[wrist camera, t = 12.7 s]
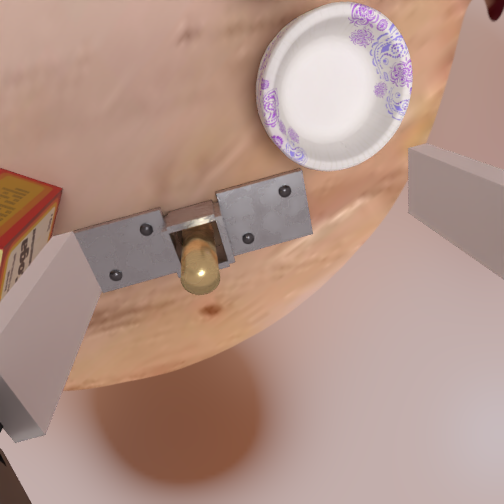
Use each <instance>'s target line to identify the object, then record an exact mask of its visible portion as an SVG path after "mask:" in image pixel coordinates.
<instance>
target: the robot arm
mask: <svg viewBox="0 0 504 504" xmlns="http://www.w3.org/2000/svg"><path fill="white" fill-rule="evenodd" d="M408 186H409V187H408V188H409V189H408V204H409V205H408V206H409V208H408V211H409V212H408V213H409V214H411V215H412V216H414V217H415V218H416V219H418V220H419V221H421V222H422V223H423V224H425V225H426V226H428V227H429V228H431V229H432V230H434V231H435V232H436V233H438V234H439V235H441V236H442V237H444V238H445V239H446V240H448V241H449V242H451V243H452V244H454V245H455V246H456V247H458V248H459V249H461V250H462V251H464V252H465V253H466V254H468V255H469V256H471V257H472V258H474V259H475V260H476V261H478V262H479V263H481V264H482V265H484V266H485V267H486V268H488V269H489V270H491V271H492V272H494V273H495V274H497V275H498V276H499V277H501V278H502V279H504V170H503V169H500V168H497V167H494V166H491V165H488V164H485V163H482V162H480V161H477V160H474V159H471V158H468V157H465V156H462V155H460V154H457V153H454V152H451V151H448V150H445V149H442V148H439V147H437V146H434V145H431V144H423V145H419V146H415V147H411V148H408ZM101 292H102V290H101V288H100V286H99V284H98V282H97V280H96V278H95V276H94V274H93V271H92V269H91V267H90V265H89V263H88V261H87V259H86V257H85V255H84V253H83V251H82V249H81V247H80V245H79V243H78V241H77V239H76V237H75V235H74V233H73V231H72V232H68V233H64V234H60V235H56V236H52V238H51V239H50V240H49V241H48V243H47V244H46V245H45V246H44V248H43V249H42V250H41V251H40V253H39V254H38V255H37V256H36V258H35V259H34V260H33V261H32V263H31V264H30V265H29V267H28V268H27V269H26V270H25V272H24V273H23V274H22V275H21V277H20V278H19V279H18V280H17V282H16V283H15V284H14V285H13V287H12V288H11V289H10V290H9V292H8V293H7V294H6V295H5V297H4V298H3V299H2V300H1V302H0V432H1V430H2V428H3V429H4V430H5V431H6V432H7V434H8V435H9V436H10V437H11V438H12V440H13V441H14V442H15V443H17V442H21V441H24V440H28V439H32V438H36V437H39V436H43V435H46V432H47V429H48V427H49V424H50V422H51V419H52V417H53V414H54V411H55V409H56V407H57V404H58V401H59V399H60V396H61V394H62V391H63V389H64V386H65V384H66V381H67V379H68V376H69V373H70V371H71V368H72V366H73V363H74V361H75V358H76V356H77V353H78V350H79V348H80V345H81V343H82V340H83V338H84V335H85V333H86V330H87V328H88V325H89V322H90V320H91V317H92V315H93V312H94V310H95V307H96V305H97V302H98V300H99V297H100V294H101ZM0 504H32V503H31V501H30V500H29V498H28V496H27V494H26V492H25V490H24V489H23V487H22V485H21V483H20V481H19V480H18V478H17V476H16V474H15V472H14V471H13V469H12V467H11V465H10V463H9V461H8V460H7V458H6V456H5V454H4V452H3V451H2V450H1V449H0Z"/></svg>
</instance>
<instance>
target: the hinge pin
mask: <svg viewBox="0 0 504 504" xmlns="http://www.w3.org/2000/svg"><path fill="white" fill-rule="evenodd" d="M219 282H220V273H219V266H218V259H217V253H216V246H215V239H214V233H213V227H212V225H211V223H210V222H208V223H205V224H201V225H198V226H194V227H190V228H187V229H183V230H182V255H181V283H182V286H183V287H184V288H185V290H187V291H188V292H190V293H192V294H195V295H204V294H208V293H210V292H212V291H213V290H215V289H216V287H217V286H218V284H219Z"/></svg>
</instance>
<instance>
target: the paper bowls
mask: <svg viewBox="0 0 504 504" xmlns="http://www.w3.org/2000/svg"><path fill="white" fill-rule="evenodd" d="M412 77H413V75H412V64H411V59H410V55H409V51H408V48H407V46H406V43H405V41H404V39H403V37H402V35H401V33H400V32H399V30H398V29H397V28H396V26H395V25H394V24H393V23H392V22H391V21H390V20H389V19H388V18H387V17H386V16H385V15H383V14H382V13H381V12H379V11H377V10H375V9H373V8H371V7H369V6H366V5H362V4H359V3H355V2H335V3H329V4H326V5H323V6H320V7H318V8H315V9H313V10H311V11H308V12H306V13H304V14H302V15H300V16H299V17H297V18H295V19H294V20H292V21H291V22H290V23H288V24H287V25H286V26H285V27H284V28H283V29H282V30H281V31H280V32H279V33H278V34H277V35H276V36H275V38H274V39H273V40H272V41H271V43H270V44H269V45H268V47H267V49H266V51H265V53H264V55H263V57H262V60H261V62H260V66H259V71H258V75H257V81H256V104H257V109H258V113H259V116H260V120H261V122H262V125H263V126H264V128H265V131H266V132H267V134H268V136H269V137H270V138H271V140H272V141H273V142H274V144H275V145H276V146H277V147H278V148H279V149H280V150H281V151H282V152H283V153H284V154H285V155H286V156H287V157H288V158H289V159H291V160H293V161H294V162H296V163H298V164H299V165H301V166H303V167H306V168H309V169H314V170H319V171H337V170H343V169H347V168H350V167H353V166H355V165H358V164H360V163H362V162H364V161H366V160H367V159H369V158H370V157H372V156H373V155H374V154H376V153H377V152H378V151H379V150H380V149H381V148H383V147H384V146H385V145H386V143H387V142H388V141H389V140H390V139H391V138H392V136H393V135H394V133H395V132H396V130H397V129H398V127H399V126H400V124H401V122H402V120H403V118H404V115H405V113H406V110H407V107H408V104H409V101H410V96H411V91H412Z"/></svg>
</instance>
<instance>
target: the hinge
mask: <svg viewBox="0 0 504 504" xmlns="http://www.w3.org/2000/svg"><path fill="white" fill-rule="evenodd" d="M216 195H217V199H218V201H217V202H213V203H212V200H209V201H206V202H202V203H199V204H195V205H191V206H188V207H184V208H181V209H177V210H173V211H170V212H169V213H168V215H167V216H163V213H162V211H161V208H160V207H158V208H155V209H151V210H147V211H144V212H140V213H137V214H133V215H129V216H126V217H122V218H119V219H115V220H111V221H108V222H104V223H101V224H97V225H93V226H90V227H86V228H82V229H79V230H75V231H74V232H73V233H74V235H75V237H76V239H77V241H78V243H79V245H80V247H81V249H82V251H83V253H84V255H85V257H86V259H87V261H88V263H89V265H90V267H91V269H92V271H93V274H94V276H95V278H96V280H97V282H98V284H99V286H100V288H101V290H102V292H103V293H105V292H108V291H112V290H115V289H119V288H122V287H126V286H129V285H133V284H137V283H140V282H144V281H147V280H151V279H154V278H158V277H161V276H165V275H169V274H172V273H176V272H177V274H178V277H179V278H180V277H181V255H182V246H181V244H180V241H179V238H178V236H177V233H176V231H180V230H183V229H187V228H190V227H194V226H198V225H201V224H205V223H208V222H212V221H216V223H217V226H218V230H219V233H220V236H221V239H222V243H223V244H221V245H218V246H216V253H217V259H218V266H219V269H223V268H226V267H230V263H234V262H235V258H234V256H236V255H240V254H243V253H247V252H250V251H254V250H257V249H261V248H264V247H268V246H272V245H275V244H279V243H282V242H286V241H289V240H293V239H296V238H300V237H304V236H307V235H311V234H313V232H312V226H311V220H310V214H309V208H308V203H307V197H306V191H305V185H304V179H303V173H302V170H301V169H300V168H299V169H296V170H292V171H288V172H285V173H281V174H277V175H274V176H270V177H267V178H263V179H259V180H256V181H252V182H249V183H245V184H241V185H238V186H234V187H231V188H227V189H223V190H220V191H216ZM232 249H233V250H232ZM233 253H234V254H233Z"/></svg>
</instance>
